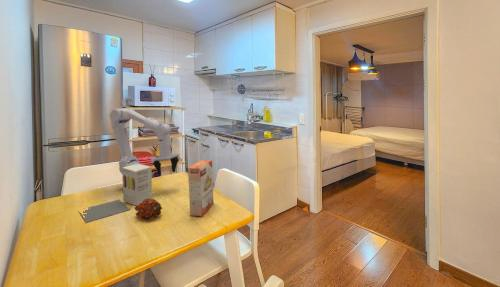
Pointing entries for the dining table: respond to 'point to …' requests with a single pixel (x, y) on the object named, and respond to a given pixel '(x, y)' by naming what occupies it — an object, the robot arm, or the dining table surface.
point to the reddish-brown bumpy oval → (148, 208)
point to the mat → (104, 210)
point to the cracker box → (200, 187)
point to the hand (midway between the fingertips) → (166, 173)
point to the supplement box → (137, 183)
